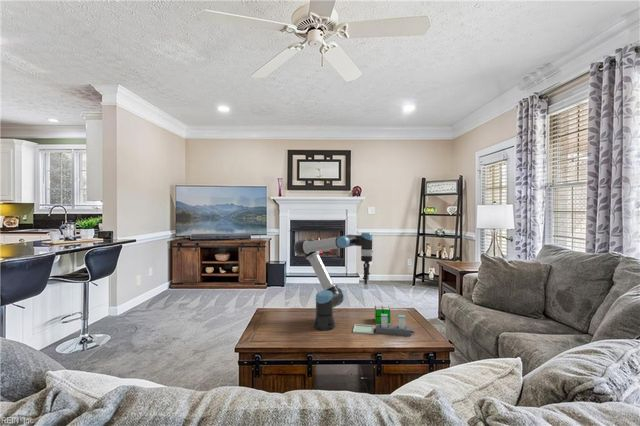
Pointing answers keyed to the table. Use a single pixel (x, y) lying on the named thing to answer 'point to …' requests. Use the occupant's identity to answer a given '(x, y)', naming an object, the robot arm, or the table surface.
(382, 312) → the puzzle cube
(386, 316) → the plug
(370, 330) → the tray
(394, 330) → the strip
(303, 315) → the table surface
